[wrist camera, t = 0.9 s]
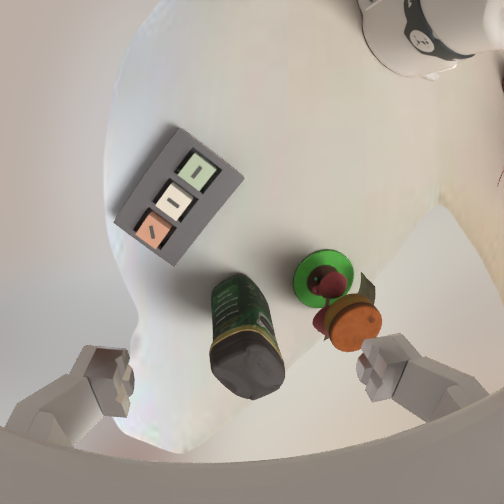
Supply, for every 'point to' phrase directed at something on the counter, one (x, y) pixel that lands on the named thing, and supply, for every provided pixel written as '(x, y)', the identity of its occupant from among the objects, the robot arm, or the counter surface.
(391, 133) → the counter surface
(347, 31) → the counter surface
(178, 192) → the key mid
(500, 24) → the robot arm
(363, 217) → the counter surface
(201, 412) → the counter surface
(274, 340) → the coffee jar
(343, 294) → the red green toy sculpture
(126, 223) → the keypad
